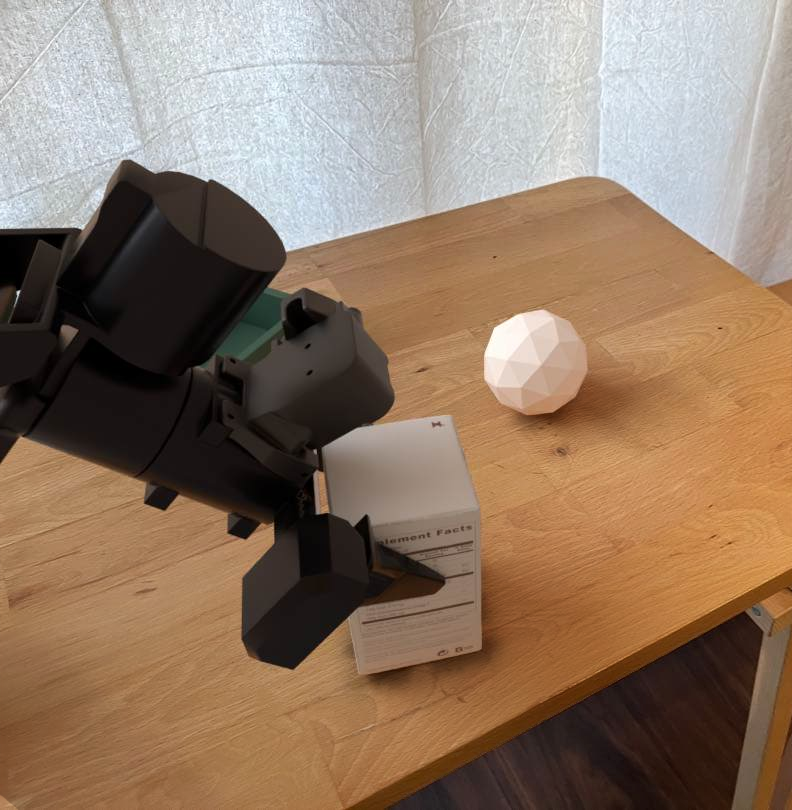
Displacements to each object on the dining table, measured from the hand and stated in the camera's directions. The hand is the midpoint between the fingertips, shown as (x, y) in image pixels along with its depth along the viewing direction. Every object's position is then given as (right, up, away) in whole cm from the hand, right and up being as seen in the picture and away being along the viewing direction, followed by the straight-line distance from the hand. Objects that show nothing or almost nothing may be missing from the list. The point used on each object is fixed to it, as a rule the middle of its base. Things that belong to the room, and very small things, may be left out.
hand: (429, 531), depth 49 cm
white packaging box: (-2, -6, +5) cm, 8 cm away
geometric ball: (+6, +7, +20) cm, 22 cm away
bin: (-20, +10, +23) cm, 32 cm away
